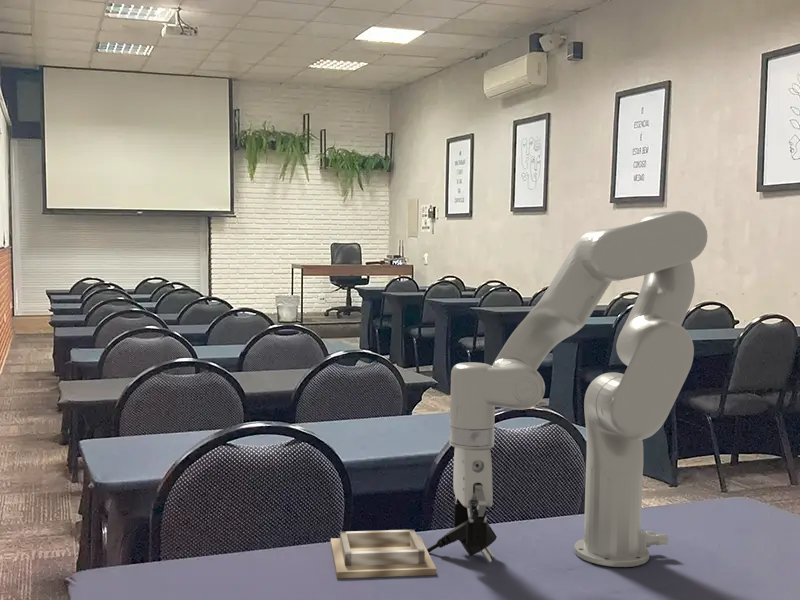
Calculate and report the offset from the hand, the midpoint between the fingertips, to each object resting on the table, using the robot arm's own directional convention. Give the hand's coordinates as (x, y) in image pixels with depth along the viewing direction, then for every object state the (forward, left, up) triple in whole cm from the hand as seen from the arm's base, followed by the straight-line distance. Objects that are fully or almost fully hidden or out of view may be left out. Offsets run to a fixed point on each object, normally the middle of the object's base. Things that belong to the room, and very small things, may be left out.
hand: (469, 535), depth 144 cm
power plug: (+1, -1, -4) cm, 4 cm away
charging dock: (+15, -1, -4) cm, 16 cm away
